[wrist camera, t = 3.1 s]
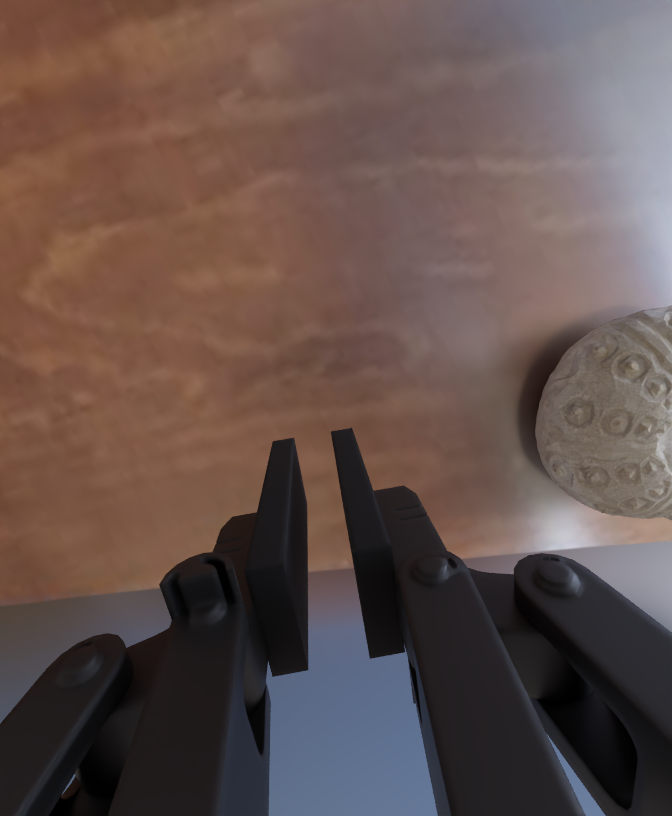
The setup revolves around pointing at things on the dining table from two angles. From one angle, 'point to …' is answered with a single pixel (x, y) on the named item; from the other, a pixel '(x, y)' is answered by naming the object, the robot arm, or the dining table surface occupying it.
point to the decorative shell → (613, 417)
